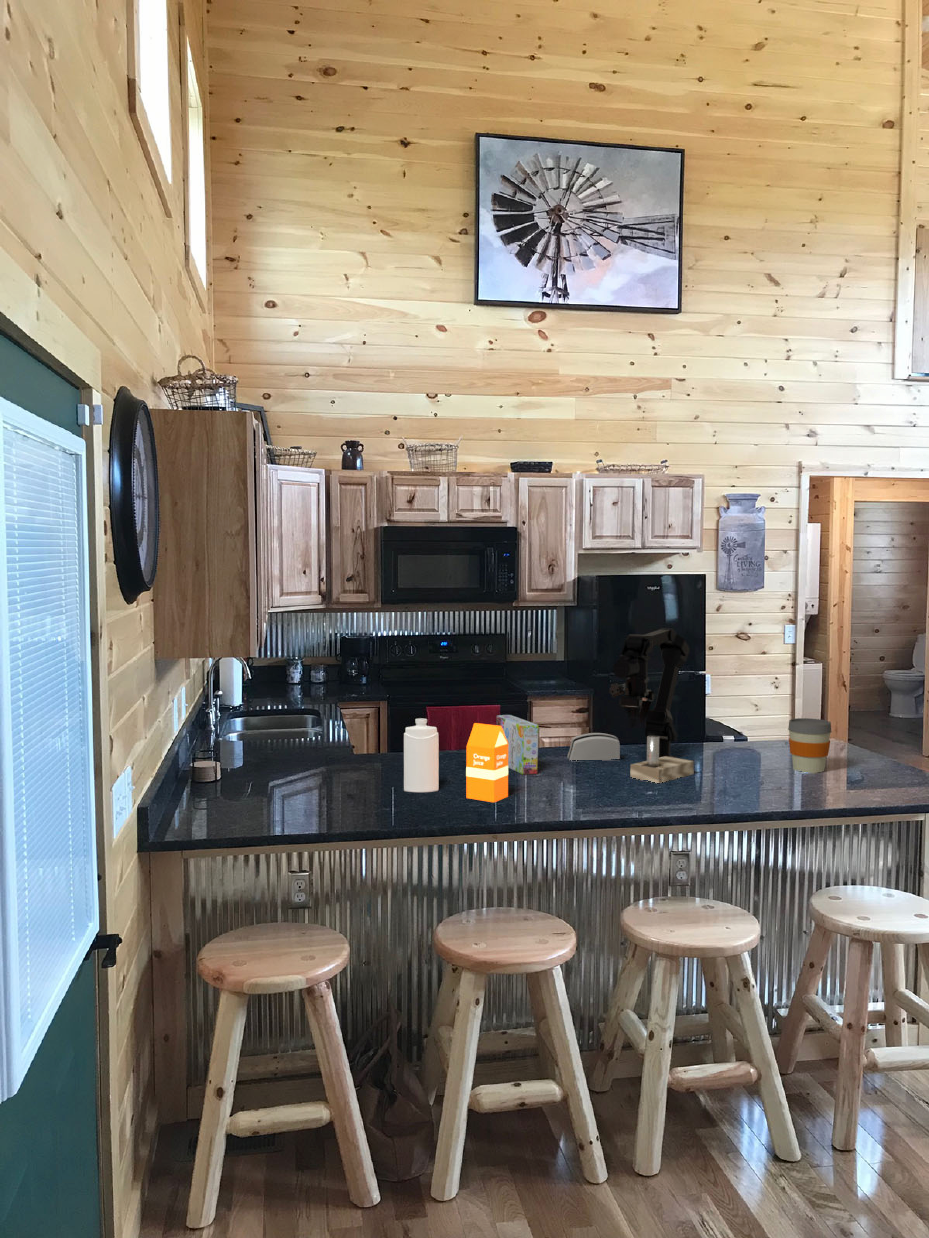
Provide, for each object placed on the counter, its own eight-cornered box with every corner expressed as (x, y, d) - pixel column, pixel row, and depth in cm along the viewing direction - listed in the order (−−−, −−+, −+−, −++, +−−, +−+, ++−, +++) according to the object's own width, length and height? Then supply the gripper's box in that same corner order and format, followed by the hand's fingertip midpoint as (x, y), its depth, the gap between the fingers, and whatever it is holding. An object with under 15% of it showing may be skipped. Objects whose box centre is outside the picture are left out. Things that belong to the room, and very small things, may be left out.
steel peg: (650, 776, 292) (651, 735, 292) (660, 778, 290) (661, 736, 289) (644, 778, 290) (644, 736, 289) (653, 780, 288) (654, 738, 287)
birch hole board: (665, 768, 303) (665, 755, 303) (693, 774, 296) (693, 760, 296) (630, 777, 291) (630, 764, 291) (658, 783, 284) (658, 770, 283)
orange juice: (493, 802, 262) (494, 728, 261) (465, 797, 267) (466, 724, 265) (508, 796, 269) (508, 723, 267) (480, 792, 273) (481, 720, 272)
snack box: (539, 774, 296) (539, 724, 295) (522, 775, 294) (522, 725, 293) (510, 760, 316) (510, 713, 315) (494, 761, 314) (494, 714, 313)
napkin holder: (615, 756, 321) (619, 729, 317) (620, 764, 317) (623, 737, 313) (566, 758, 319) (569, 731, 315) (569, 765, 315) (572, 738, 311)
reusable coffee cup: (817, 776, 294) (818, 726, 293) (779, 769, 303) (780, 721, 302) (838, 770, 302) (839, 721, 301) (800, 763, 311) (801, 716, 310)
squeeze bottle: (403, 788, 277) (403, 792, 272) (403, 717, 276) (403, 721, 271) (438, 787, 278) (438, 792, 273) (438, 717, 276) (438, 720, 271)
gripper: (621, 670, 316) (620, 718, 317) (603, 677, 299) (602, 727, 301) (655, 672, 311) (654, 721, 312) (639, 679, 295) (638, 730, 296)
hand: (637, 725), depth 305 cm, fingers open, 9 cm apart
